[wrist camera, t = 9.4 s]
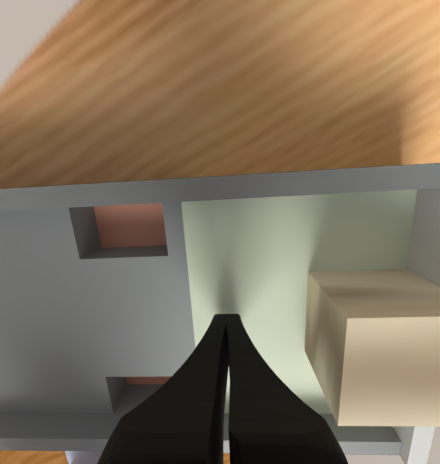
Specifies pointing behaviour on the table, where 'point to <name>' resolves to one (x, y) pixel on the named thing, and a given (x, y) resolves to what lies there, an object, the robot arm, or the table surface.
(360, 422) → the birch block
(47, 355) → the trap box
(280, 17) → the table surface
